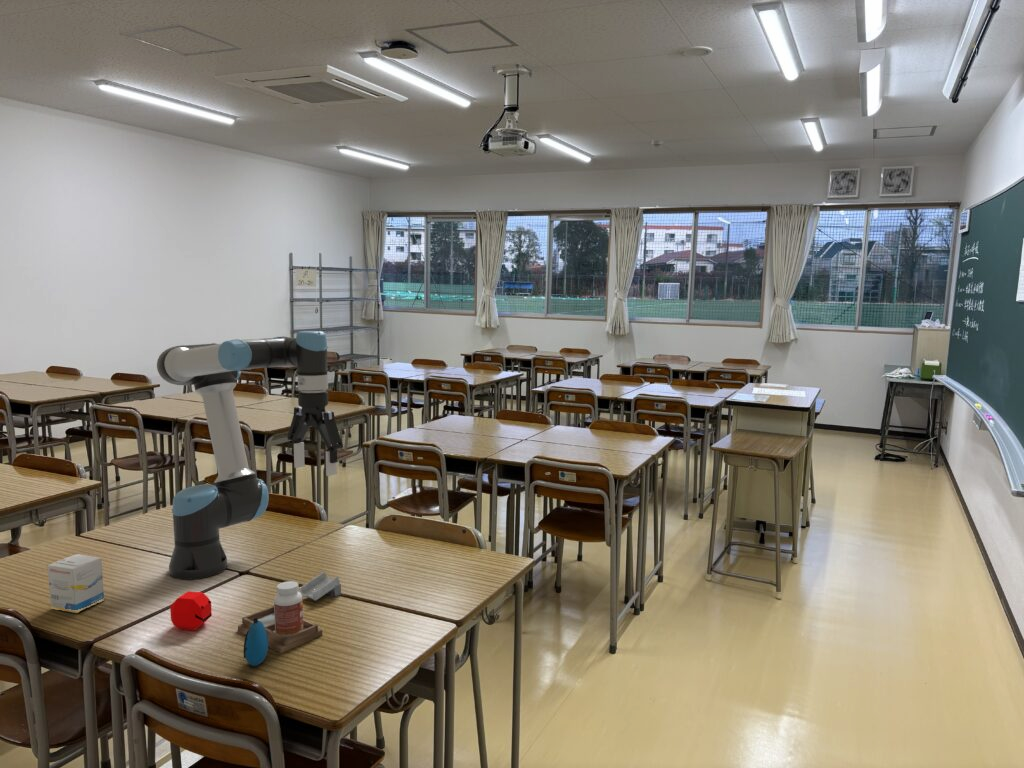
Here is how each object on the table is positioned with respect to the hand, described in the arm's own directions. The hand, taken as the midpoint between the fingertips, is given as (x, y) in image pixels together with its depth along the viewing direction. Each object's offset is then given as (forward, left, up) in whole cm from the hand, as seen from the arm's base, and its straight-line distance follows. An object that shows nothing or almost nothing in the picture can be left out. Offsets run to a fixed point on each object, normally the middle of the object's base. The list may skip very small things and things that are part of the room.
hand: (315, 470), depth 188 cm
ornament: (+23, -33, -32) cm, 51 cm away
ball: (-4, -33, -32) cm, 46 cm away
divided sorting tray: (+15, -22, -32) cm, 41 cm away
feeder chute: (+6, -4, -32) cm, 32 cm away
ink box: (-37, -45, -32) cm, 66 cm away
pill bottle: (+19, -22, -30) cm, 42 cm away
